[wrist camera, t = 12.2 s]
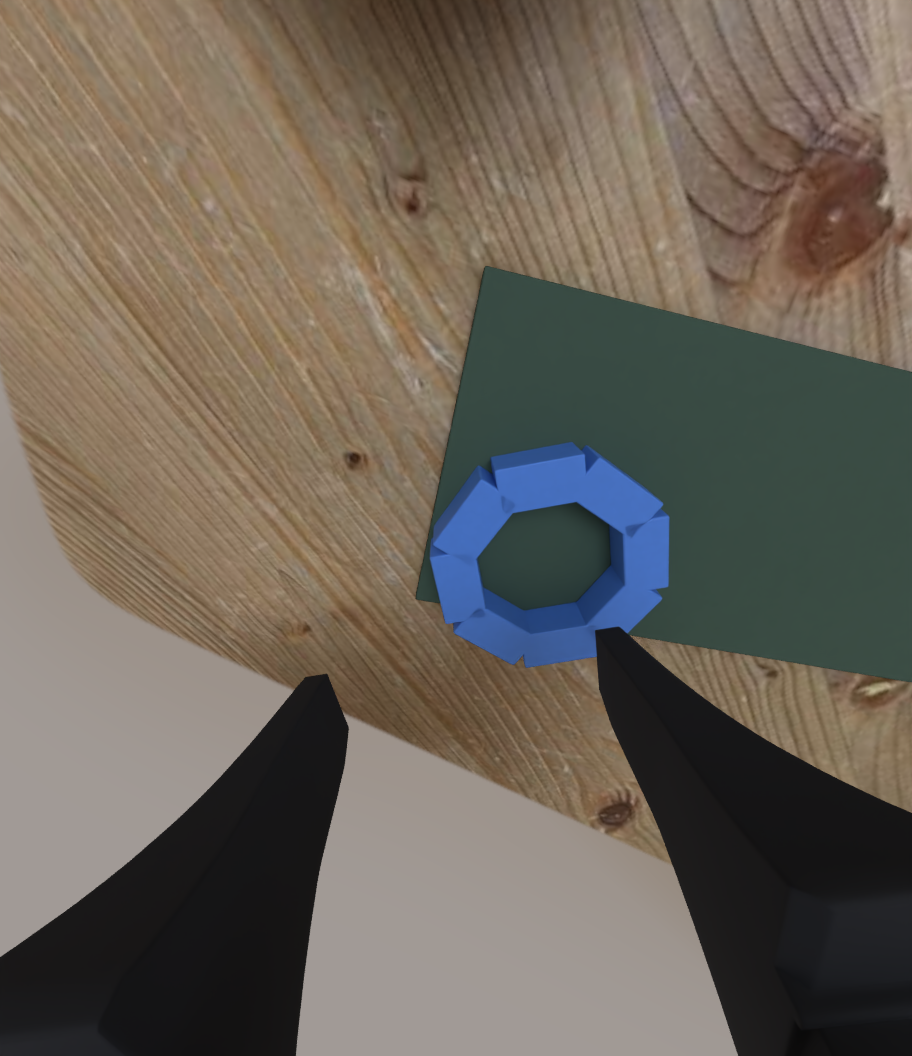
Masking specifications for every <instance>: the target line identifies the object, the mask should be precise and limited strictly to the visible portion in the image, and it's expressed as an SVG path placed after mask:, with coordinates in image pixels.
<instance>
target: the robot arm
mask: <svg viewBox="0 0 912 1056" xmlns="http://www.w3.org/2000/svg"><path fill="white" fill-rule="evenodd" d="M595 638H596V652H597V666H598V679H599V690H600V693H601V696H602V699H603V702H604V705H605V708H606V711H607V714H608V717H609V720H610V722H611V725H612V728H613V730H614V732H615V734H616V737H617V739H618V741H619V743H620V745H621V747H622V749H623V752H624V754H625V756H626V758H627V760H628V762H629V764H630V767H631V769H632V771H633V773H634V775H635V777H636V779H637V781H638V784H639V786H640V788H641V790H642V792H643V794H644V796H645V798H646V801H647V803H648V805H649V807H650V809H651V811H652V813H653V816H654V818H655V820H656V823H657V825H658V828H659V830H660V832H661V835H662V838H663V840H664V843H665V846H666V848H667V851H668V854H669V857H670V859H671V862H672V865H673V867H674V870H675V873H676V875H677V878H678V881H679V884H680V886H681V889H682V892H683V895H684V898H685V901H686V903H687V906H688V909H689V912H690V915H691V917H692V920H693V923H694V926H695V929H696V932H697V934H698V937H699V940H700V943H701V946H702V949H703V952H704V955H705V958H706V961H707V964H708V967H709V969H710V972H711V975H712V978H713V981H714V984H715V987H716V990H717V993H718V996H719V999H720V1002H721V1005H722V1008H723V1011H724V1014H725V1017H726V1020H727V1023H728V1026H729V1029H730V1032H731V1035H732V1038H733V1041H734V1044H735V1047H736V1051H737V1053H738V1056H912V813H911V812H908V811H906V810H904V809H901V808H899V807H897V806H894V805H892V804H890V803H887V802H885V801H883V800H881V799H878V798H876V797H874V796H872V795H870V794H868V793H866V792H864V791H862V790H860V789H857V788H855V787H853V786H851V785H849V784H847V783H845V782H843V781H841V780H839V779H837V778H835V777H833V776H831V775H829V774H827V773H825V772H823V771H821V770H819V769H817V768H816V767H814V766H812V765H810V764H808V763H806V762H805V761H803V760H801V759H799V758H797V757H796V756H794V755H792V754H790V753H788V752H786V751H785V750H783V749H781V748H779V747H777V746H776V745H774V744H772V743H771V742H769V741H767V740H766V739H764V738H762V737H761V736H759V735H757V734H756V733H754V732H753V731H751V730H749V729H748V728H746V727H745V726H743V725H742V724H740V723H739V722H737V721H736V720H734V719H733V718H731V717H730V716H728V715H727V714H725V713H724V712H722V711H721V710H720V709H718V708H717V707H715V706H714V705H713V704H711V703H710V702H709V701H707V700H706V699H704V698H703V697H702V696H700V695H699V694H698V693H696V692H695V691H694V690H693V689H691V688H690V687H689V686H687V685H686V684H685V683H684V682H682V681H681V680H680V679H679V678H677V677H676V676H675V675H674V674H673V673H671V672H670V671H669V670H668V669H666V668H665V667H664V666H663V665H662V664H661V663H659V662H658V661H657V660H656V659H655V658H654V657H652V656H651V655H650V654H649V653H648V652H647V651H646V650H645V649H643V648H642V647H641V646H640V645H639V644H638V643H637V642H636V641H635V640H634V639H633V638H631V637H630V636H629V635H628V634H627V633H626V632H625V631H624V630H623V629H622V628H620V627H619V626H618V627H612V628H605V629H599V630H595ZM348 730H349V728H348V725H347V722H346V720H345V717H344V715H343V712H342V710H341V707H340V705H339V702H338V700H337V697H336V695H335V692H334V690H333V687H332V685H331V682H330V680H329V677H328V675H327V674H322V675H316V676H310V677H305V678H304V680H303V681H302V682H301V683H300V684H299V685H298V687H297V688H296V689H295V690H294V691H293V693H292V694H291V695H290V696H289V698H288V699H287V700H286V701H285V703H284V704H283V705H282V706H281V707H280V709H279V710H278V711H277V712H276V714H275V715H274V716H273V717H272V718H271V720H270V721H269V722H268V723H267V725H266V726H265V727H264V728H263V729H262V730H261V732H260V733H259V734H258V735H257V736H256V738H255V739H254V740H253V741H252V742H251V743H250V745H249V746H248V747H247V748H246V749H245V750H244V751H243V753H241V755H240V756H239V757H238V758H237V759H236V760H235V761H234V762H233V764H232V765H231V766H230V767H229V768H228V769H227V770H226V771H225V772H224V773H223V775H222V776H221V777H220V778H219V779H218V780H217V781H216V782H215V783H214V784H213V785H212V786H211V787H210V788H209V789H208V790H207V791H206V792H205V793H204V794H203V795H202V796H201V797H200V798H199V799H198V800H197V801H196V802H195V803H194V804H193V805H192V806H191V807H190V808H189V809H188V810H187V811H186V812H185V813H184V814H183V815H182V816H181V817H180V818H178V819H177V820H176V821H175V822H174V823H173V824H172V825H171V826H170V827H168V828H167V829H166V830H165V831H164V832H163V833H162V834H160V835H159V836H158V837H157V838H156V839H155V840H154V841H153V842H151V843H150V844H149V845H148V846H147V847H146V848H144V849H143V850H142V851H141V852H140V853H139V854H138V855H136V856H135V857H134V858H133V859H132V860H131V861H130V862H128V863H127V864H126V865H124V866H123V867H122V868H121V869H120V870H118V871H117V872H116V873H115V874H113V875H112V876H111V877H110V878H108V879H107V880H106V881H105V882H103V883H102V884H101V885H99V886H98V887H97V888H95V889H94V890H93V891H92V892H90V893H89V894H88V895H86V896H85V897H84V898H83V899H81V900H80V901H79V902H77V903H76V904H75V905H73V906H72V907H70V908H69V909H68V910H66V911H65V912H64V913H62V914H61V915H60V916H58V917H57V918H55V919H54V920H52V921H51V922H50V923H48V924H47V925H45V926H44V927H43V928H41V929H40V930H38V931H37V932H36V933H34V934H33V935H31V936H30V937H28V938H27V939H26V940H24V941H23V942H21V943H20V944H19V945H17V946H16V947H14V948H13V949H11V950H10V951H9V952H7V953H6V954H4V955H3V956H1V957H0V1056H296V1047H297V1036H298V1027H299V1017H300V1008H301V1000H302V990H303V981H304V973H305V965H306V957H307V950H308V943H309V935H310V927H311V921H312V914H313V907H314V901H315V894H316V888H317V881H318V876H319V871H320V866H321V861H322V857H323V853H324V849H325V844H326V840H327V836H328V832H329V828H330V824H331V820H332V816H333V811H334V808H335V804H336V800H337V796H338V791H339V787H340V783H341V778H342V774H343V770H344V765H345V757H346V749H347V740H348Z"/></svg>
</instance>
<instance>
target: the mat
mask: <svg viewBox="0 0 912 1056" xmlns="http://www.w3.org/2000/svg"><path fill="white" fill-rule="evenodd" d="M569 442H573V443H574V444H575V445H576V446H577V447H578V448H579V449H580V450H582V449H583V448H584V447H585V446H586V445H587V446H589V447H590V448H592V449H593V450H595V451H596V452H597V453H599V454H600V455H601V456H603V457H604V458H605V459H607V460H608V461H610V462H611V463H612V464H614V465H615V466H616V467H618V468H619V469H620V470H622V471H623V472H625V473H626V474H627V475H629V476H630V477H631V478H633V479H634V480H635V481H637V482H638V483H640V484H641V485H642V486H644V487H645V488H646V489H647V490H649V491H650V492H651V493H652V494H653V495H654V496H655V497H657V498H658V499H659V500H660V501H661V502H662V503H663V506H662V507H661V509H662V510H663V511H664V512H665V513H666V514H667V515H668V516H669V582H668V587H665V588H659V589H656V590H657V591H658V593H659V594H660V595H661V597H662V600H661V601H660V602H659V603H658V604H657V605H656V606H655V607H654V608H653V609H652V610H651V611H650V612H649V613H648V614H647V615H646V616H645V617H644V618H643V619H642V620H641V621H640V622H639V623H638V624H637V625H635V626H634V627H633V628H632V629H631V630H630V631H629V632H628V633H627V634H628V635H632V636H638V637H644V638H650V639H656V640H662V641H668V642H674V643H680V644H686V645H692V646H698V647H704V648H710V649H716V650H721V651H727V652H733V653H739V654H745V655H751V656H757V657H763V658H769V659H775V660H781V661H787V662H793V663H799V664H805V665H811V666H817V667H823V668H829V669H835V670H841V671H847V672H853V673H859V674H865V675H871V676H877V677H883V678H889V679H895V680H901V681H907V682H912V372H909V371H905V370H901V369H897V368H893V367H889V366H885V365H881V364H877V363H873V362H869V361H865V360H861V359H857V358H853V357H849V356H845V355H841V354H837V353H833V352H829V351H825V350H821V349H817V348H813V347H809V346H805V345H801V344H797V343H793V342H789V341H785V340H781V339H777V338H773V337H769V336H765V335H761V334H757V333H753V332H749V331H745V330H741V329H737V328H733V327H729V326H725V325H721V324H717V323H713V322H709V321H705V320H701V319H697V318H693V317H689V316H685V315H681V314H677V313H673V312H669V311H665V310H661V309H657V308H653V307H649V306H645V305H641V304H637V303H633V302H629V301H625V300H621V299H617V298H613V297H609V296H605V295H601V294H597V293H593V292H589V291H585V290H581V289H577V288H573V287H569V286H565V285H561V284H557V283H553V282H549V281H545V280H541V279H537V278H533V277H529V276H525V275H521V274H517V273H513V272H509V271H505V270H501V269H497V268H493V267H489V266H485V268H484V271H483V276H482V281H481V286H480V290H479V295H478V300H477V305H476V310H475V314H474V319H473V324H472V329H471V334H470V338H469V343H468V348H467V353H466V357H465V362H464V367H463V372H462V377H461V381H460V386H459V391H458V396H457V401H456V405H455V410H454V415H453V420H452V424H451V429H450V434H449V439H448V444H447V448H446V453H445V458H444V463H443V468H442V472H441V477H440V482H439V487H438V491H437V496H436V501H435V506H434V511H433V515H432V520H431V525H430V530H429V535H428V539H427V544H426V549H425V554H424V558H423V563H422V568H421V573H420V578H419V582H418V587H417V592H416V599H417V600H423V601H429V602H435V603H440V599H439V595H438V591H437V587H436V583H435V578H434V574H433V570H432V566H431V562H430V547H431V539H432V538H433V533H434V525H435V524H436V522H437V521H438V519H439V518H440V517H441V515H442V514H443V513H444V511H445V510H446V508H447V507H448V506H449V504H450V503H451V502H452V500H453V499H454V497H455V496H456V495H457V493H458V492H459V491H460V489H461V488H462V486H463V485H464V484H465V482H466V481H467V480H468V478H469V477H470V475H471V474H472V473H473V471H474V470H475V469H476V467H477V466H481V467H482V468H484V469H485V470H487V471H488V472H490V473H492V467H491V460H490V458H491V457H494V456H499V455H504V454H510V453H515V452H520V451H526V450H531V449H537V448H542V447H547V446H553V445H558V444H563V443H569ZM492 474H493V473H492ZM478 563H479V568H480V573H481V578H482V584H483V587H484V588H486V589H487V590H489V591H491V592H492V593H494V594H496V595H498V596H499V597H501V598H503V599H504V600H506V601H508V602H510V603H511V604H513V605H515V606H516V607H518V608H520V609H522V610H523V611H525V610H531V609H537V608H543V607H549V606H555V605H561V604H567V603H573V602H577V601H578V600H579V599H580V598H581V596H582V595H583V594H584V593H585V592H586V591H587V590H588V589H589V588H590V587H591V586H592V585H593V584H594V583H595V582H596V580H597V579H598V578H599V577H600V576H601V575H602V574H603V573H604V572H605V571H606V570H607V569H608V568H609V567H610V565H611V553H610V533H609V524H607V523H606V522H604V521H603V520H602V519H600V518H599V517H597V516H596V515H594V514H593V513H591V512H590V511H588V510H587V509H585V508H584V507H583V506H581V505H580V504H578V503H577V502H573V503H568V504H562V505H556V506H551V507H545V508H540V509H534V510H528V511H523V512H517V513H513V514H512V515H511V516H510V517H509V519H508V520H507V521H506V522H505V524H504V525H503V526H502V527H501V529H500V530H499V531H498V532H497V534H496V535H495V536H494V538H493V539H492V540H491V541H490V543H489V544H488V545H487V546H486V548H485V549H484V550H483V551H482V553H481V554H480V555H479V556H478Z"/></svg>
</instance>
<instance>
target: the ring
mask: <svg viewBox="0 0 912 1056" xmlns="http://www.w3.org/2000/svg"><path fill="white" fill-rule="evenodd" d="M490 460H491V467H492V473H493V474H492V473H490V472H488V471H487V470H485V469H484V468H482V467H481V466H477V467H476V469H475V470H474V471H473V473H472V474H471V475H470V477H469V478H468V480H467V481H466V482H465V484H464V485H463V486H462V488H461V489H460V491H459V492H458V493H457V495H456V496H455V497H454V499H453V500H452V502H451V503H450V504H449V506H448V507H447V508H446V510H445V511H444V513H443V514H442V515H441V517H440V518H439V519H438V521H437V522H436V524H435V525H434V533H433V538H432V539H431V547H430V562H431V566H432V570H433V574H434V578H435V583H436V587H437V591H438V595H439V599H440V603H441V607H442V612H443V616H444V620H445V623H446V624H450V623H453V628H454V633H455V634H456V635H458V636H460V637H462V638H464V639H466V640H467V641H469V642H471V643H473V644H475V645H477V646H478V647H480V648H482V649H484V650H486V651H488V652H490V653H491V654H493V655H495V656H497V657H499V658H501V659H502V660H504V661H506V662H508V663H510V664H512V665H514V664H515V663H516V662H517V661H518V660H519V659H520V658H521V657H522V656H523V659H524V664H525V667H526V668H528V667H535V666H541V665H547V664H554V663H560V662H566V661H573V660H579V659H585V658H592V657H597V652H596V638H595V630H599V629H605V628H612V627H618V626H619V627H620V628H622V629H623V630H624V631H625V632H626V633H628V632H629V631H630V630H631V629H632V628H633V627H634V626H635V625H637V624H638V623H639V622H640V621H641V620H642V619H643V618H644V617H645V616H646V615H647V614H648V613H649V612H650V611H651V610H652V609H653V608H654V607H655V606H656V605H657V604H658V603H659V602H660V601H661V600H662V597H661V595H660V594H659V593H658V591H657V590H656V589H659V588H665V587H668V582H669V516H668V515H667V514H666V513H665V512H664V511H663V510H662V509H661V507H662V506H663V503H662V502H661V501H660V500H659V499H658V498H657V497H655V496H654V495H653V494H652V493H651V492H650V491H649V490H647V489H646V488H645V487H644V486H642V485H641V484H640V483H638V482H637V481H635V480H634V479H633V478H631V477H630V476H629V475H627V474H626V473H625V472H623V471H622V470H620V469H619V468H618V467H616V466H615V465H614V464H612V463H611V462H610V461H608V460H607V459H605V458H604V457H603V456H601V455H600V454H599V453H597V452H596V451H595V450H593V449H592V448H590V447H589V446H587V445H586V446H585V447H584V448H583V449H582V450H580V449H579V448H578V447H577V446H576V445H575V444H574V443H573V442H569V443H563V444H558V445H553V446H547V447H542V448H537V449H531V450H526V451H520V452H515V453H510V454H504V455H499V456H494V457H491V458H490ZM573 502H577V503H578V504H580V505H581V506H583V507H584V508H585V509H587V510H588V511H590V512H591V513H593V514H594V515H596V516H597V517H599V518H600V519H602V520H603V521H604V522H606V523H607V524H609V533H610V553H611V565H610V567H609V568H608V569H607V570H606V571H605V572H604V573H603V574H602V575H601V576H600V577H599V578H598V579H597V580H596V582H595V583H594V584H593V585H592V586H591V587H590V588H589V589H588V590H587V591H586V592H585V593H584V594H583V595H582V596H581V598H580V599H579V600H578V601H577V602H573V603H567V604H561V605H555V606H549V607H543V608H537V609H531V610H525V611H523V610H522V609H520V608H518V607H516V606H515V605H513V604H511V603H510V602H508V601H506V600H504V599H503V598H501V597H499V596H498V595H496V594H494V593H492V592H491V591H489V590H487V589H486V588H484V587H483V584H482V578H481V573H480V568H479V563H478V556H479V555H480V554H481V553H482V551H483V550H484V549H485V548H486V546H487V545H488V544H489V543H490V541H491V540H492V539H493V538H494V536H495V535H496V534H497V532H498V531H499V530H500V529H501V527H502V526H503V525H504V524H505V522H506V521H507V520H508V519H509V517H510V516H511V515H512V514H513V513H517V512H523V511H528V510H534V509H540V508H545V507H551V506H556V505H562V504H568V503H573Z"/></svg>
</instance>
